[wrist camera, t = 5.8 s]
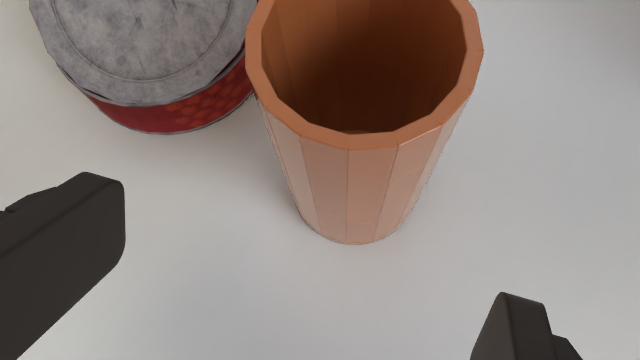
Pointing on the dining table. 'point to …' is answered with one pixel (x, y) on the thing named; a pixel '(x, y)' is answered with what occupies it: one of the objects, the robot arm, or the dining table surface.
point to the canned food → (151, 57)
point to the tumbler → (361, 102)
